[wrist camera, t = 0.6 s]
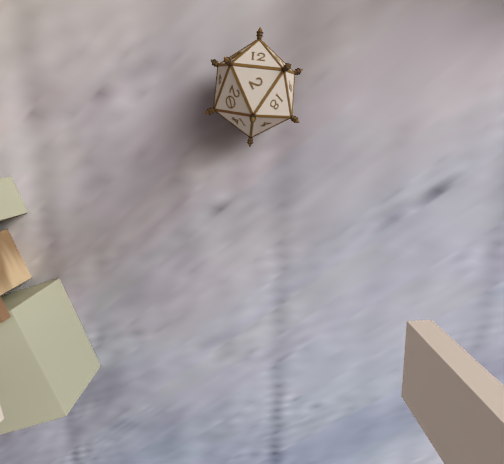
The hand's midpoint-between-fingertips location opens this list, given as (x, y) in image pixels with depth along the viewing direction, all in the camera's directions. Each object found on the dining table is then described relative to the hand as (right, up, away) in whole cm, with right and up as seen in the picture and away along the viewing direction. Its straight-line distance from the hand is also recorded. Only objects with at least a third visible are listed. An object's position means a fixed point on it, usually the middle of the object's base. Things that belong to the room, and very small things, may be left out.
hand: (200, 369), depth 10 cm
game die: (+2, +18, +24) cm, 30 cm away
